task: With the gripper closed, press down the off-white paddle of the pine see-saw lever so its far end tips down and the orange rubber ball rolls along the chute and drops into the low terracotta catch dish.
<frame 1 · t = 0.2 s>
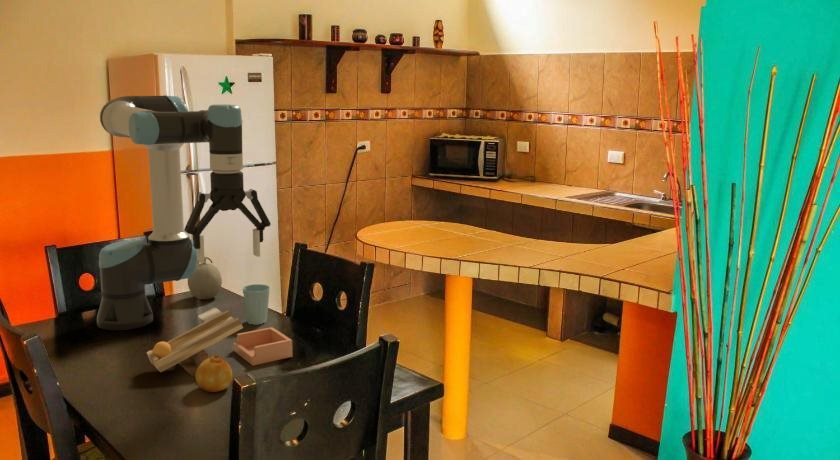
hand: (229, 258, 179), 28 cm above the table, fingers open, 13 cm apart
fruit 2: (206, 298, 240), on the table
lever: (188, 334, 186), point 7 cm above the table, hinge at 19.0°, touching ball
ball: (162, 349, 178), point 6 cm above the table, tilted 6°, touching lever
cup: (257, 322, 218), on the table
dish: (262, 353, 193), on the table
fruit: (214, 389, 171), on the table
fulcrum: (197, 365, 184), on the table
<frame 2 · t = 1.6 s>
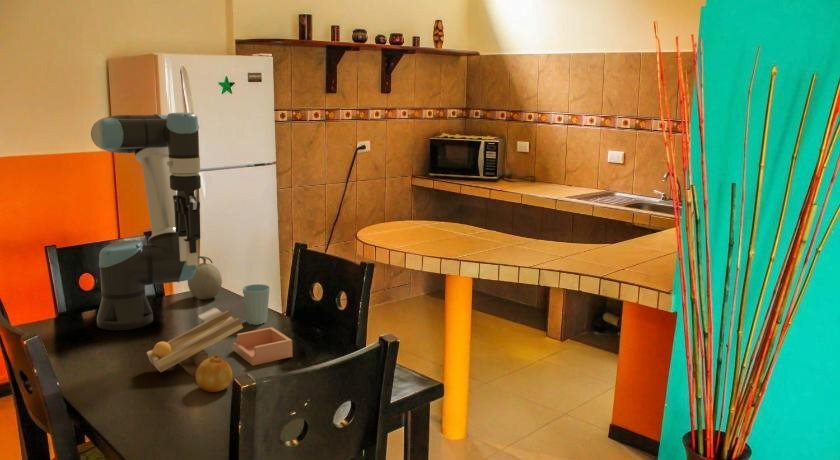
hand: (188, 262, 194), 23 cm above the table, fingers open, 4 cm apart
nothing on the table moved.
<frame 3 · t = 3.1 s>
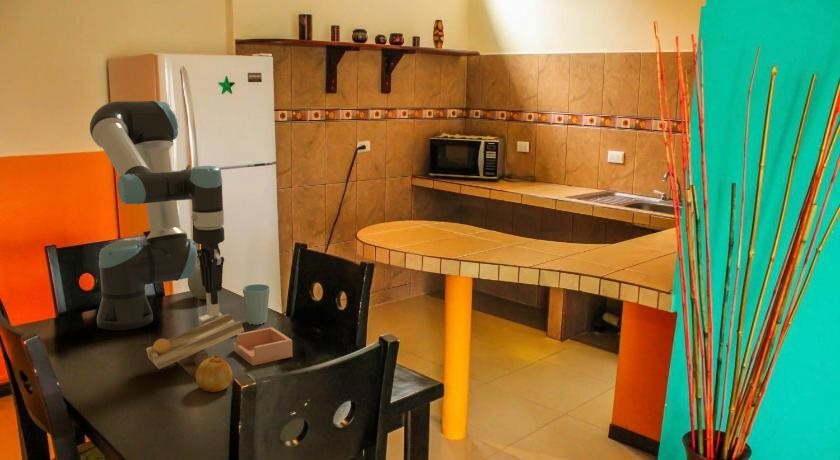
hand: (213, 314, 194), 9 cm above the table, fingers closed
lever: (189, 333, 186), point 7 cm above the table, hinge at 13.8°, touching ball, gripper
ball: (162, 346, 178), point 7 cm above the table, touching lever
everything else where it was.
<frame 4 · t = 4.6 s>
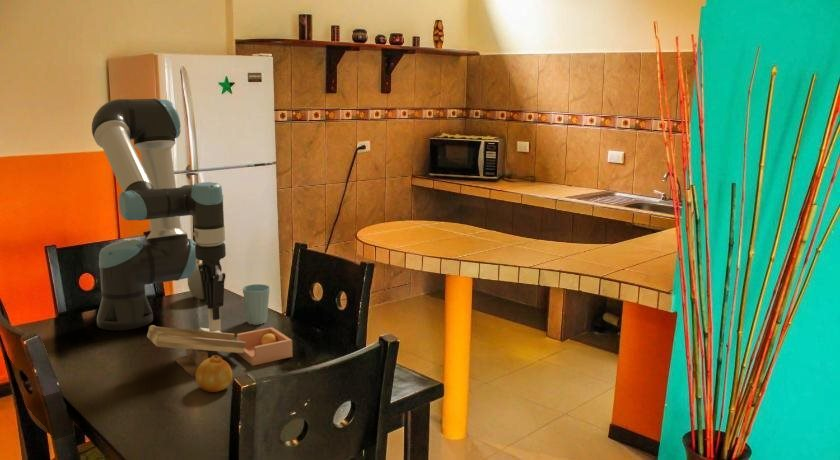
hand: (215, 330, 195), 5 cm above the table, fingers closed
lever: (191, 333, 187), point 7 cm above the table, hinge at -16.0°, touching gripper
ball: (269, 341, 195), point 2 cm above the table, tilted 154°, touching dish
everything else where it was.
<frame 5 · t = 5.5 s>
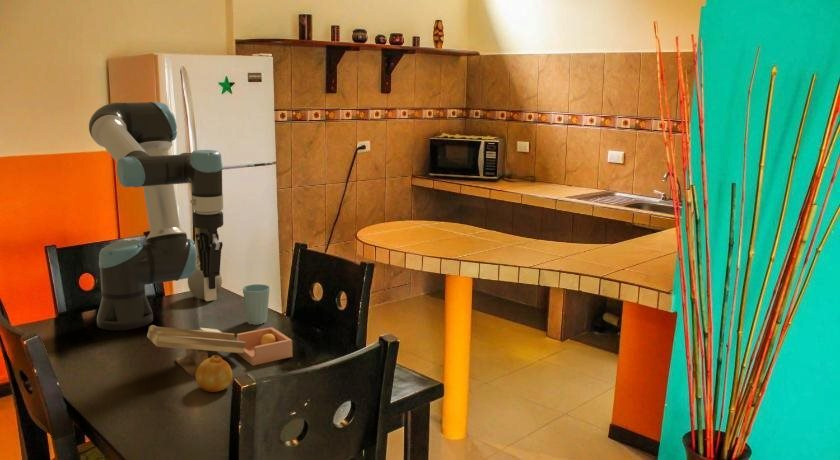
hand: (210, 299, 194), 13 cm above the table, fingers closed
lever: (191, 333, 187), point 7 cm above the table, hinge at -16.0°
ball: (268, 341, 195), point 2 cm above the table, tilted 149°, touching dish
everything else where it was.
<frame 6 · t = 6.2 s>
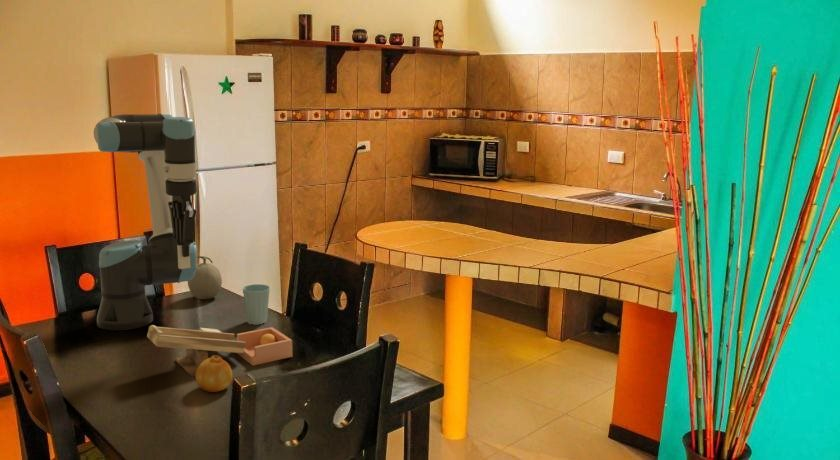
hand: (184, 267, 194), 21 cm above the table, fingers closed
nothing on the table moved.
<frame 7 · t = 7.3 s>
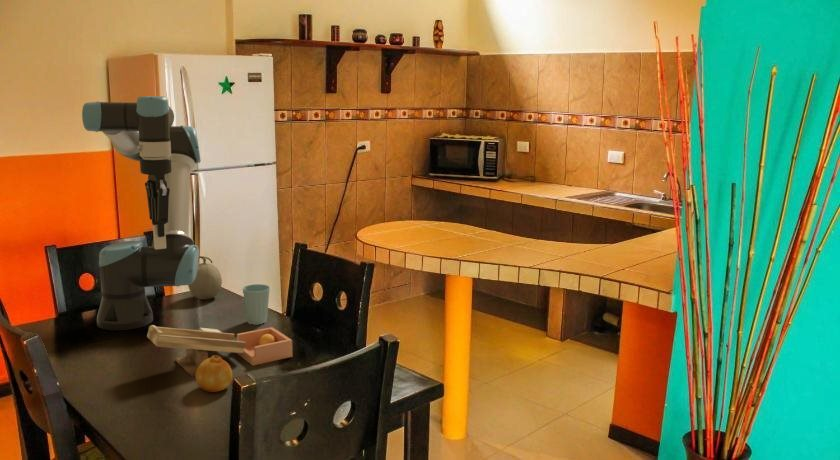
hand: (160, 248, 193), 26 cm above the table, fingers closed
ball: (267, 341, 195), point 2 cm above the table, tilted 139°, touching dish
everything else where it was.
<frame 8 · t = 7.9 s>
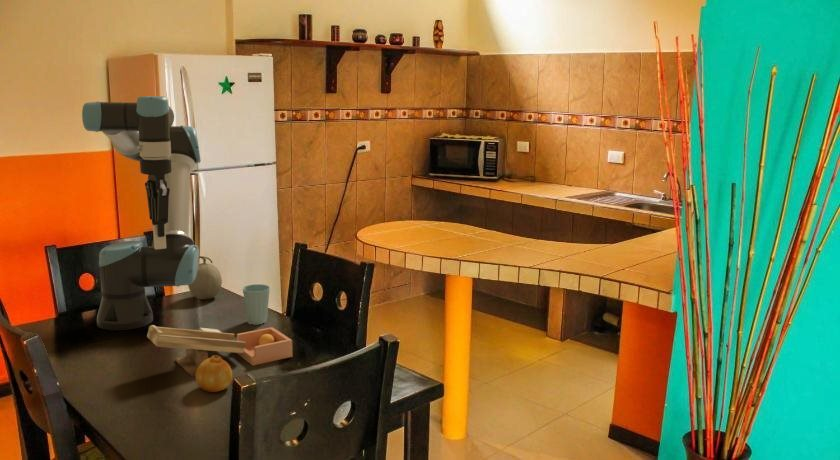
hand: (160, 248, 193), 26 cm above the table, fingers closed
nothing on the table moved.
at the end: ball inside the target area on the dish (2.3 cm from its centre), point 2.5 cm above the dish's base; ball touching dish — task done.
